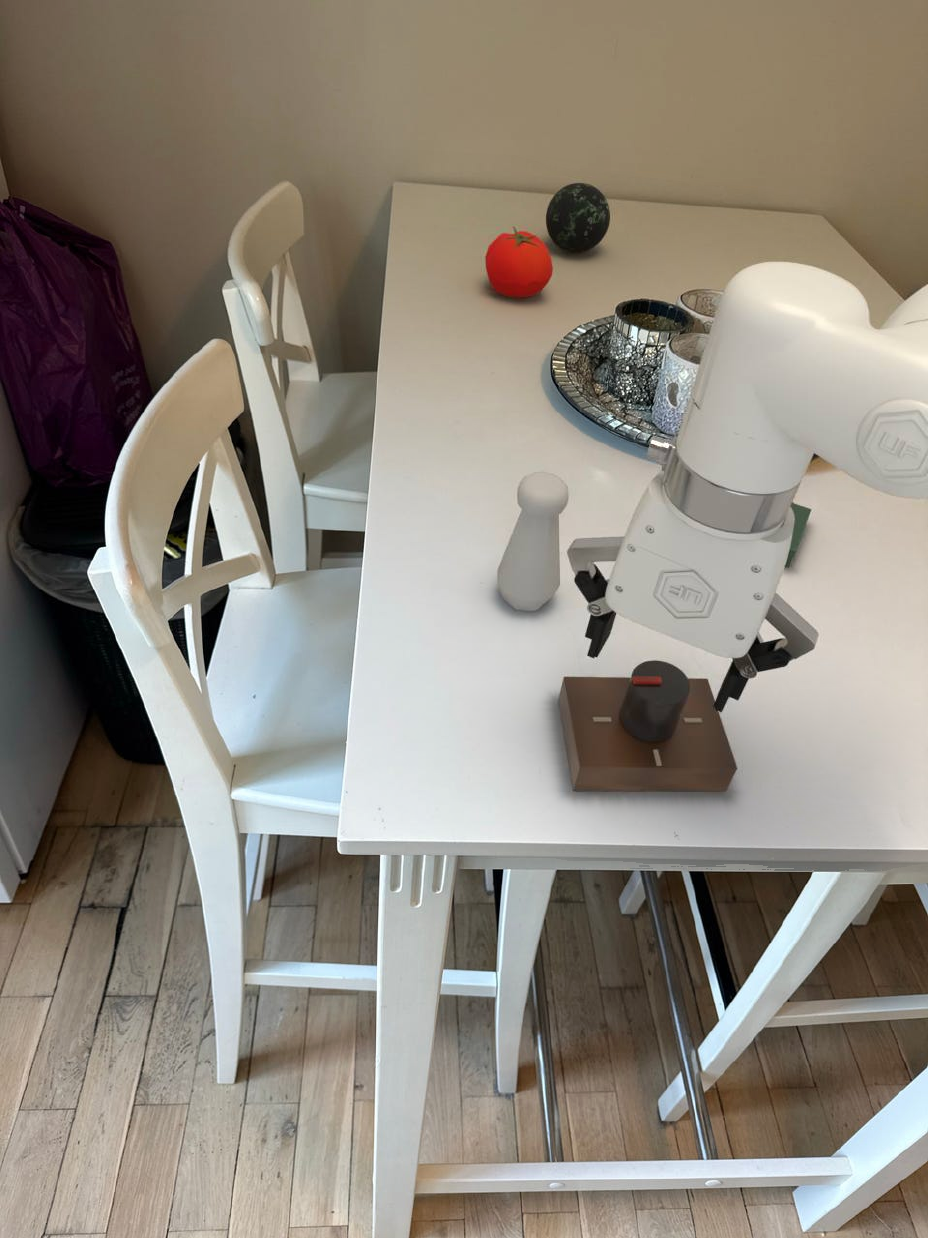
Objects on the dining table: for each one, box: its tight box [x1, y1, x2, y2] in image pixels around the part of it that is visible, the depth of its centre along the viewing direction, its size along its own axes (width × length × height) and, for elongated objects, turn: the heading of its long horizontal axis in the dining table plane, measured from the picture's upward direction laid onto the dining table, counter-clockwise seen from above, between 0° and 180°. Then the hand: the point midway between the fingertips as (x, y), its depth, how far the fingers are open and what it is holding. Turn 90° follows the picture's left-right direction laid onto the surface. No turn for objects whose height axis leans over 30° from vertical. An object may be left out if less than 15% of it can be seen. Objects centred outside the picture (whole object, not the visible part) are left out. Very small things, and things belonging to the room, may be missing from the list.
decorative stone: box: [545, 182, 611, 254], centre depth 138 cm, size 10×10×10 cm
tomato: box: [484, 225, 554, 299], centre depth 126 cm, size 9×10×8 cm
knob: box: [620, 659, 691, 743], centre depth 67 cm, size 4×4×5 cm
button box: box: [785, 500, 812, 568], centre depth 91 cm, size 10×8×4 cm
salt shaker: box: [496, 471, 570, 612], centre depth 77 cm, size 6×6×13 cm
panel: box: [557, 676, 738, 792], centre depth 69 cm, size 12×9×3 cm
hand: (659, 671), depth 65 cm, fingers open, 9 cm apart
